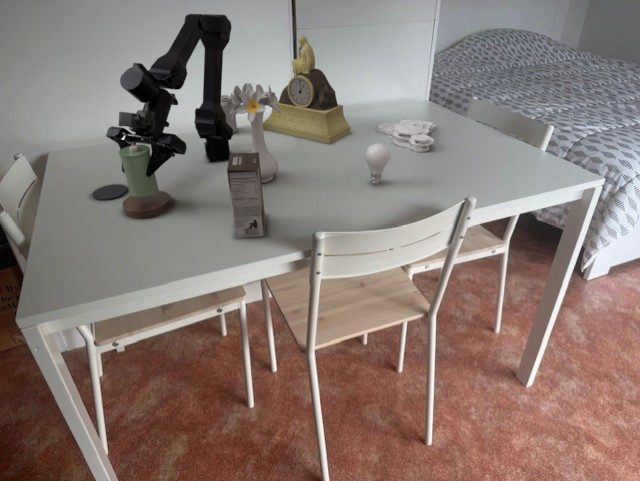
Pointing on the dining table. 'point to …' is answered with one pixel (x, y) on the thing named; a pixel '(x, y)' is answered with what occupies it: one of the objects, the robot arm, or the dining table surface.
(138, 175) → the canister
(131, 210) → the platform
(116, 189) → the coaster
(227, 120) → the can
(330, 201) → the dining table surface
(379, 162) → the lightbulb
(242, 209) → the coffee box
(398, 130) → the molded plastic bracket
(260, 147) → the flower vase
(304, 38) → the decorative clock
